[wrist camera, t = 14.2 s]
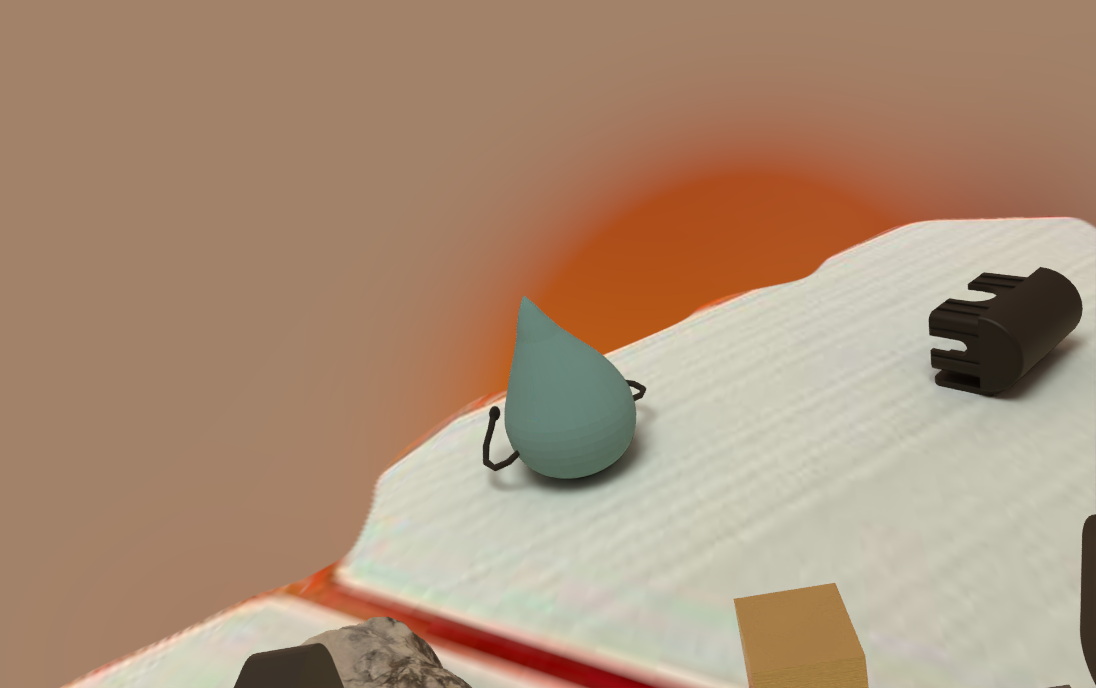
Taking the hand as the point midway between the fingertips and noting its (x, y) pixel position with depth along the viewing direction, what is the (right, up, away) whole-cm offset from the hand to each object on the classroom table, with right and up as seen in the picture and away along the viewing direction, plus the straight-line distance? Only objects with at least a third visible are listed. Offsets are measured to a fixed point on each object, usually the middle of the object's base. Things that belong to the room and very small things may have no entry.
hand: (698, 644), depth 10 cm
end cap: (+34, +1, +61) cm, 70 cm away
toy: (+1, -6, +63) cm, 63 cm away
